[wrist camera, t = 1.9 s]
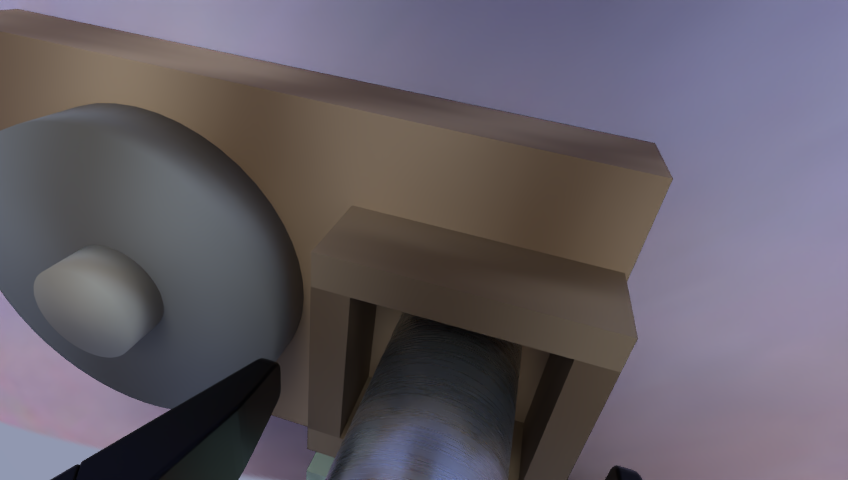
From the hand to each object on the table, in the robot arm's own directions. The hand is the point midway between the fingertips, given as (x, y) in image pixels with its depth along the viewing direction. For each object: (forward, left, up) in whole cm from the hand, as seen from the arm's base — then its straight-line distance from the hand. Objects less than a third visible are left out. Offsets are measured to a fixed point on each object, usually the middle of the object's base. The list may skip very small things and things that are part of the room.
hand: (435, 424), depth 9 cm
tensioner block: (+5, 0, -4) cm, 7 cm away
